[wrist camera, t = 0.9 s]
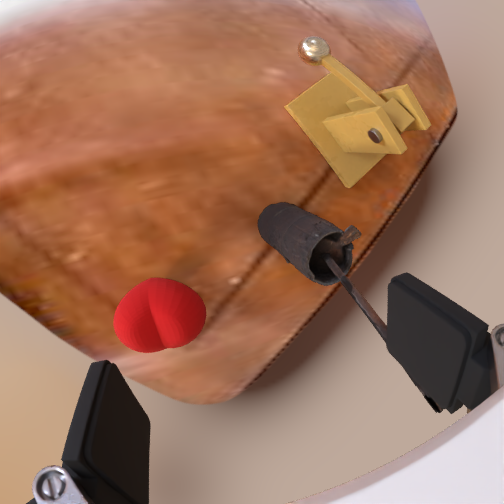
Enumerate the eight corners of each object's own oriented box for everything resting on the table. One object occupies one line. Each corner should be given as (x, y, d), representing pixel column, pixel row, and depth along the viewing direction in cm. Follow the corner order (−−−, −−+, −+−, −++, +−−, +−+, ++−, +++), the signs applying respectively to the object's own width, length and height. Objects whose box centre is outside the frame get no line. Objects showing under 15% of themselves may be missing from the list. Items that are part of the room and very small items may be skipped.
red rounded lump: (194, 251, 33) (197, 288, 24) (209, 305, 36) (217, 355, 26) (117, 270, 32) (94, 311, 23) (136, 321, 35) (124, 373, 25)
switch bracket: (283, 107, 31) (330, 85, 20) (337, 67, 30) (395, 39, 19) (345, 187, 35) (407, 203, 24) (391, 144, 34) (457, 147, 23)
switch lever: (290, 58, 26) (290, 39, 22) (312, 44, 25) (314, 25, 22) (388, 146, 25) (400, 133, 21) (407, 128, 24) (420, 114, 21)
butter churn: (296, 157, 33) (546, 189, 6) (335, 225, 36) (539, 345, 10) (227, 203, 33) (371, 378, 6) (273, 269, 36) (419, 467, 10)
